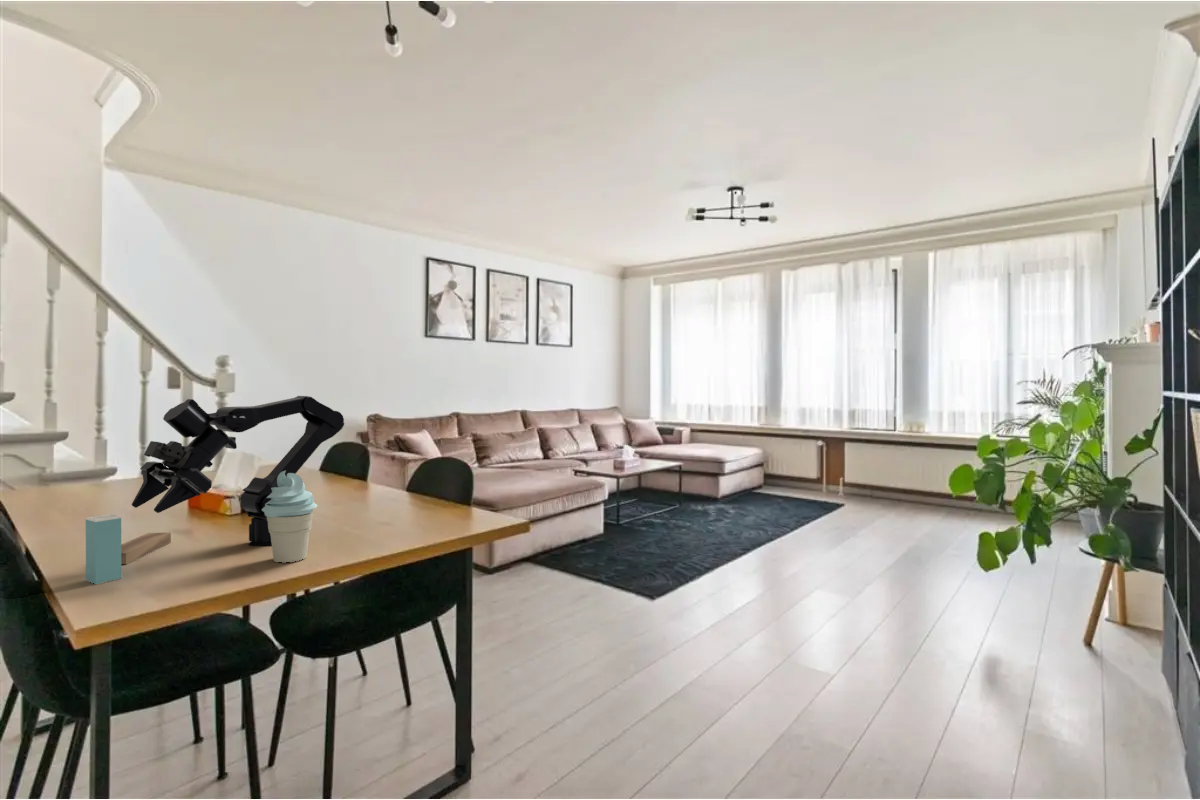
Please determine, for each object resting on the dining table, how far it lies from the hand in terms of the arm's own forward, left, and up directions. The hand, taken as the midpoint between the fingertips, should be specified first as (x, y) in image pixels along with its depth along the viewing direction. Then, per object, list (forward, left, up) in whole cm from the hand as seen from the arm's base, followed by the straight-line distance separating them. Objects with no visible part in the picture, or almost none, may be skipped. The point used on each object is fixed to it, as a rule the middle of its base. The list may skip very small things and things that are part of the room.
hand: (144, 509), depth 126 cm
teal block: (+4, +5, -13) cm, 15 cm away
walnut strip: (+8, -14, -13) cm, 21 cm away
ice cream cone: (-27, -6, -13) cm, 30 cm away
